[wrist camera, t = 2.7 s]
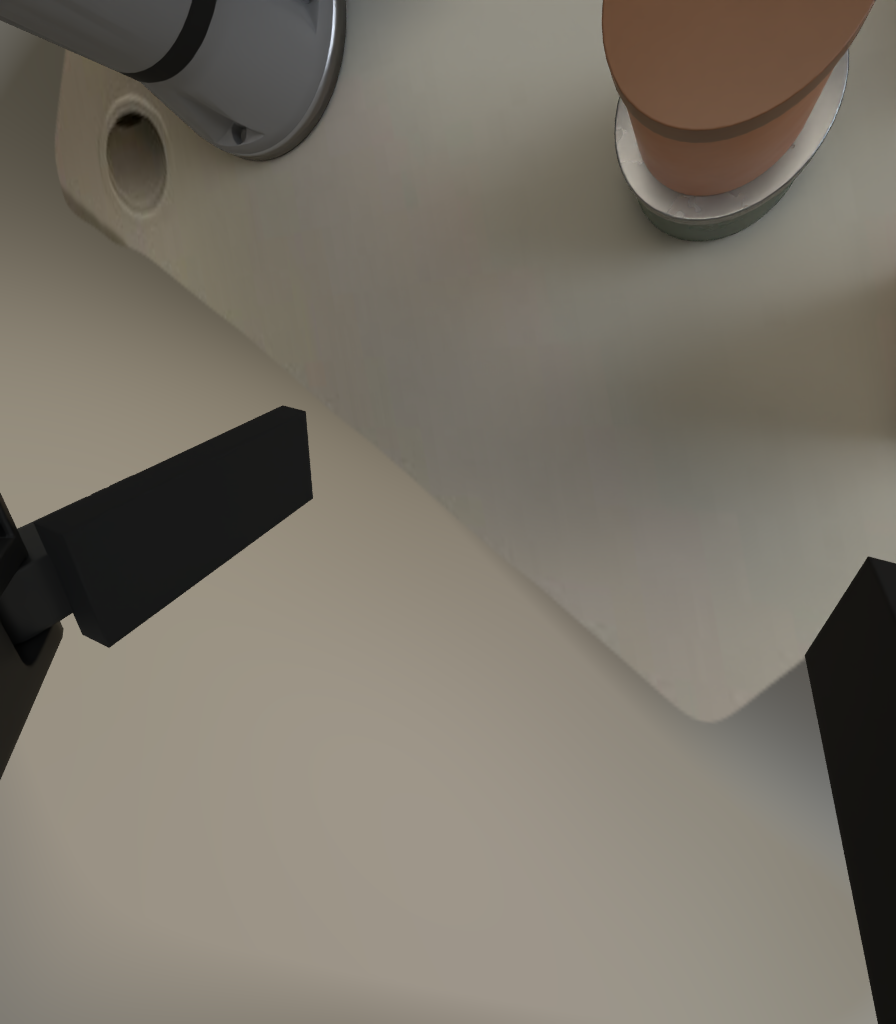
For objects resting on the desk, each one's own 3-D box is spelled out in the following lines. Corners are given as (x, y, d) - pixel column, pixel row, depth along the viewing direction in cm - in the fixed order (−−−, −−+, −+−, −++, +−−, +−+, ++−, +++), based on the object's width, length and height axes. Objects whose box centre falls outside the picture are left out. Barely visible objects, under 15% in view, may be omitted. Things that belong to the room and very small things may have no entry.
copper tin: (599, 120, 24) (553, 14, 16) (746, -52, 20) (778, -296, 12) (700, 237, 23) (703, 187, 16) (867, 83, 20) (978, -80, 12)
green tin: (599, 166, 30) (574, 123, 24) (739, 10, 26) (752, -90, 20) (695, 279, 30) (695, 264, 24) (854, 140, 25) (904, 78, 19)
